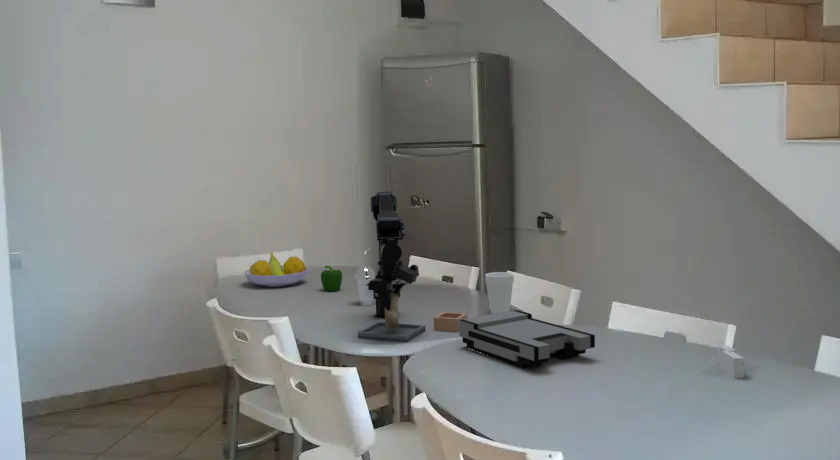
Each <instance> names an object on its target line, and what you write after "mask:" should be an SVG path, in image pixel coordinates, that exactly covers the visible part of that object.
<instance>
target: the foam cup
mask: <svg viewBox="0 0 840 460" xmlns="http://www.w3.org/2000/svg"><path fill="white" fill-rule="evenodd" d="M484 276H485V277H484V278H485V279H484V282H485V283H486V289H487V290H486V292H487V298H488V305H489V306H488V307H489V312H490V315H491V314H497V313H503V312H508V311H511V303H512V295H513V285H514V282H515V280H514V279H515V278H514V276H515V273H513V272H508V271H507V272H506V271H504V272H503V271H498V272H497V271H495V272H494V271H493V272H488V273H485V275H484Z"/></svg>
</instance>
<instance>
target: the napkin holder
mask: <svg viewBox="0 0 840 460" xmlns="http://www.w3.org/2000/svg"><path fill="white" fill-rule="evenodd" d="M744 363H745V358H744V357H743V356H741V355H740V354H737V350H736V349H734V348H733V347H731V346H730V345H719V346H718V366H719V367H721V371H723V373H725V374H727V375H729V376H730V377H731V378H733V379H743V378H744V371H745V370H744V369H745V367H744V365H745V364H744Z"/></svg>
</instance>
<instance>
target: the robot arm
mask: <svg viewBox="0 0 840 460" xmlns="http://www.w3.org/2000/svg"><path fill="white" fill-rule="evenodd" d="M397 202H398V201H397V196H395V195H394V194H393V191H379V192H376V194H375V195H374V196H372V197H370V204H369V205H370V207H369V208H370V213H372V217H373V219H374V220H375V233H376V241H377V243H378V261H377V266H378V267H379V268H378V269H377V271H376V273H375V279H373V280H371V281H370V282H369V283H368V290H373V300H375V314H374V315H373V317H375V318H377V317H379V318H385V308H386V310H390V306H391V295H392V293H396V294H398V299H399V298H400V297H401V291H402V289H403V288H404V287H405V286H406V285H407V284H409V285H411V284H412V285H413V283H416V281H417V278H418V277H419V276H420V271H419V266H418V265H417V264H411V265H410V266H405V265H404V261H403V260H402V259H401V257H402V255H403V253H402V252H403V251H402V248H401V246H400V242H399V241H402V240H404V237H405V228H404V225H405V224H404V222H403V220H402V219H400V216H399V213H398V212H397V210H398V209H397V206H398V203H397ZM399 314H400V312H399V311H398V315H399Z"/></svg>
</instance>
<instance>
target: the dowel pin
mask: <svg viewBox="0 0 840 460" xmlns="http://www.w3.org/2000/svg"><path fill="white" fill-rule="evenodd" d="M398 312H399V298H398V294H396V293H392V295H391V306H390V310H386V308H385V317H384V321H385V327H386V328H389V329H393V328H398V327H399V323H400V322H399V314H398Z"/></svg>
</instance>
